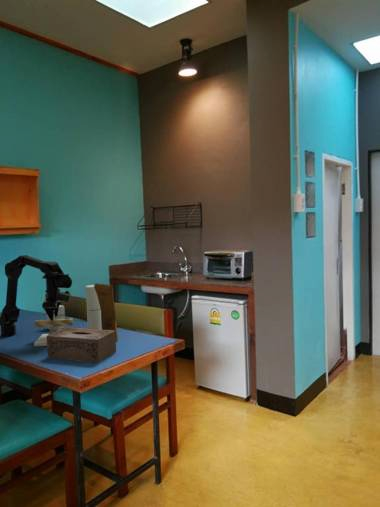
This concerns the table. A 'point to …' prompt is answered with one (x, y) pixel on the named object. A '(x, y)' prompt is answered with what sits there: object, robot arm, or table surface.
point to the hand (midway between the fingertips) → (54, 318)
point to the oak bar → (54, 322)
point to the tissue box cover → (81, 344)
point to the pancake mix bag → (106, 307)
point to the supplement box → (59, 315)
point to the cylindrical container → (93, 308)
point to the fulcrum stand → (43, 339)
